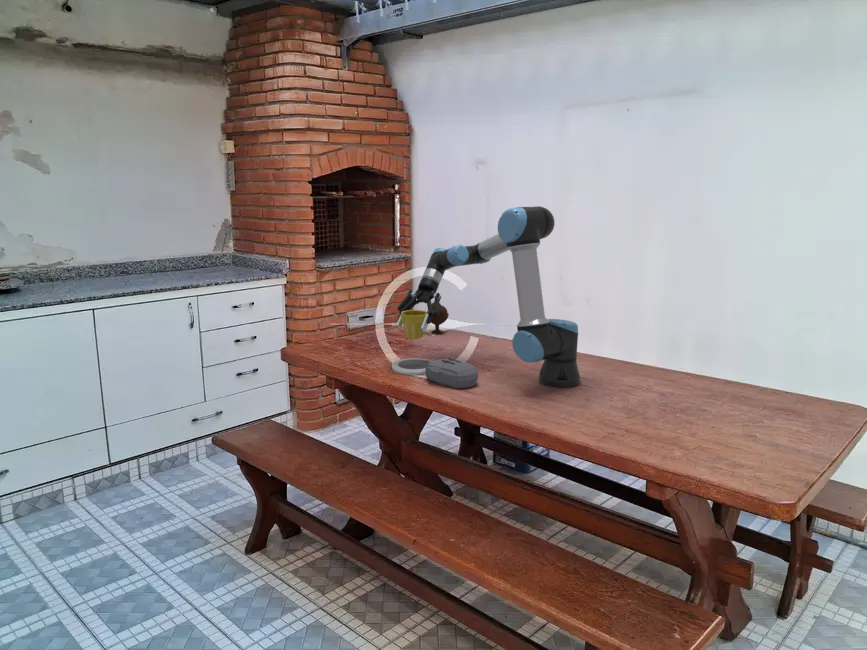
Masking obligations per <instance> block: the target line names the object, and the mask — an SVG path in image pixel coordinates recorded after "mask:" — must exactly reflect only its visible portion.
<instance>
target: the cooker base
mask: <svg viewBox="0 0 867 650" xmlns="http://www.w3.org/2000/svg"><path fill="white" fill-rule="evenodd" d="M432 361H433V360H432V359H428V358H423V357H421V358H419V357H412V358H411V357H409V358H402V359H398V360H394V361H393V362H392V363H391V370H392V371H393V372H394V373H397V374H400V375H406V376H421V375H426V374H425V369H426V366H427V364H429V363H430V362H432Z"/></svg>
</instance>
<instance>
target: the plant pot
mask: <svg viewBox="0 0 867 650" xmlns="http://www.w3.org/2000/svg"><path fill="white" fill-rule="evenodd" d="M426 314H428V313H427V311H425V310H418V309H410V310H407V311H403V312H402V313H401V321H402V322H403V325H402V326H403V329H404V333H405V338H406V339H408V340H409V339H410V340H417V339H418V340H419V339H421V338H423V337H424V333H425V332H423V331H422V329H421V326H422V324H423V321H424V319H425V317H426Z"/></svg>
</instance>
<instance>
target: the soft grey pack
mask: <svg viewBox="0 0 867 650" xmlns="http://www.w3.org/2000/svg"><path fill="white" fill-rule="evenodd" d="M424 375H425V377H426V378H427V380H429V381H431V382H433V383H435V384H437V385H440V386H444V387H449V388H455V389H463V388H464V389H465V388H470V387H474V386H476V385H477V381H478V379H479V372H478V369H477V368H476V367H475V366H474V365H472V364H471V363H468V362H466V361H463V360H458V359H455V358H451V357H448V358H439V359H436V360H435V359H434V360H432V362H430V363H429V364H427V366H426V369H425V374H424Z"/></svg>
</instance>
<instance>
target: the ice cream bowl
mask: <svg viewBox="0 0 867 650" xmlns="http://www.w3.org/2000/svg"><path fill="white" fill-rule="evenodd" d="M431 305H432V310H433V312H434V301H433V302H431ZM426 312H427V313H428V310H427V311H426ZM428 314H429V313H428ZM449 314H450V313H449V312H448V308H446V306H444V305H442V304H441V303H440V302H439V316H438V317H436V316H435V317H433V318H432V321H431V323H430V324H432V325H433V326H435V327H434V328H435V329H433V330H432V331H431V334H432V335H442V334H443V333H444V332H443V331H442V330H440V325H442V324H444V323H445V322H446V321H447V320H448V318H449Z"/></svg>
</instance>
